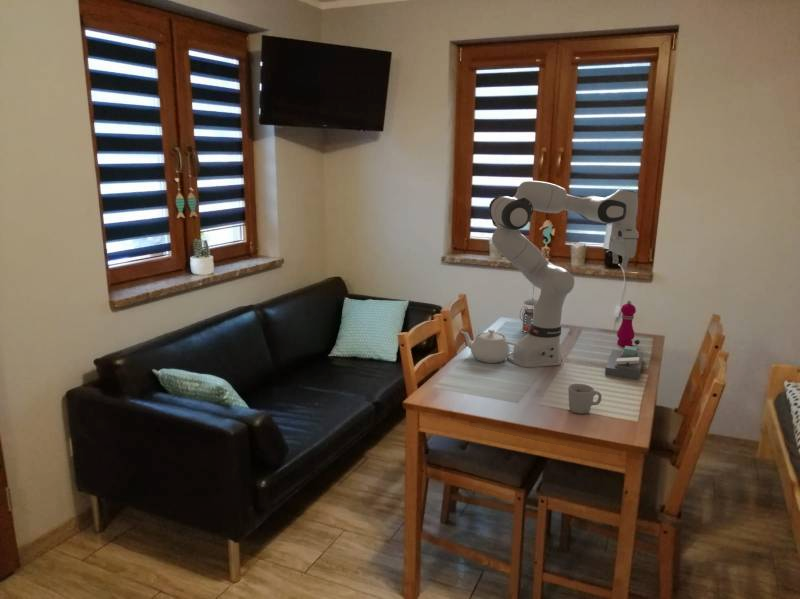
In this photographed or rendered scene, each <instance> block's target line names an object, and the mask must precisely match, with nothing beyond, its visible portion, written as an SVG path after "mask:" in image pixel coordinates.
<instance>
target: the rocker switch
mask: <svg viewBox="0 0 800 599" xmlns="http://www.w3.org/2000/svg"><path fill="white" fill-rule="evenodd" d="M639 361H640V358H639V357H631V358H617V360H616V364H626V365H627V366H628V365H629V364H636V363H639Z"/></svg>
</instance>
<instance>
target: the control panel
mask: <svg viewBox="0 0 800 599" xmlns="http://www.w3.org/2000/svg"><path fill="white" fill-rule="evenodd" d="M644 355H645V354H644V353H643V352H642V353H640V352H638V351H637V354H636V356H630V355H624V349H623V350H619V349H612V350H611V353H610V356H609V358H608V360H607V362H606V366H605V368H604V369H605V371H604V375H605V376H611V377H617V378H623V379H624V378H625V379H629V380H636V381H639V380H640V376H641V371H642V366H643V362H644ZM631 357H639V358H640V361H639V363H636V364H629V365H628V366H627V365H626V364H616V360H617V358H631Z"/></svg>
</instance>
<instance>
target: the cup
mask: <svg viewBox="0 0 800 599" xmlns="http://www.w3.org/2000/svg"><path fill="white" fill-rule="evenodd" d="M596 395H598V396H597V397H598V399H597V400H596V401H594V397H595V396H596ZM601 401H602V393H601V392H600V391H597V390H595V389H594V387H592V386H591V385H587V384H583V383H572V384H569V386H568V408H569V410H570V411H571V412H573V413H574V414H580V415H585V414H588V413H589V412H590V411H591V408H592V406H598V405H599V404H601Z"/></svg>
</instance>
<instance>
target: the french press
mask: <svg viewBox="0 0 800 599" xmlns="http://www.w3.org/2000/svg"><path fill="white" fill-rule="evenodd" d="M532 288H533V290H532V294H534V293H535V292H534V289H535V286H534V285H533V287H532ZM537 301H538V299H535V298H531V299H529V298H528V299H526V300H524V301H523V303H524V306H522V307H521V309H520V311H519V314H521V312H522V314H521V316H519V318H520V320H521V322H522V327H521V329H522V330H523V331H526V332H528V331H527V330H524V326H525V325H527V326H529V327H530V326H531V324H532V323H533V309H534V304H535V303H536V302H537ZM526 305H527V306H526ZM528 306H531V308H529V307H528ZM522 310H523V311H522Z"/></svg>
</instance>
